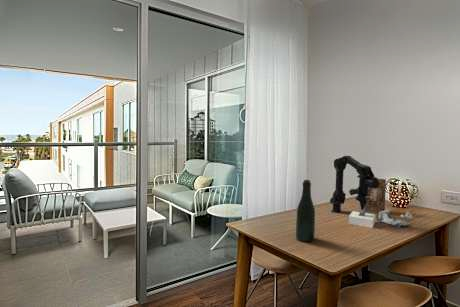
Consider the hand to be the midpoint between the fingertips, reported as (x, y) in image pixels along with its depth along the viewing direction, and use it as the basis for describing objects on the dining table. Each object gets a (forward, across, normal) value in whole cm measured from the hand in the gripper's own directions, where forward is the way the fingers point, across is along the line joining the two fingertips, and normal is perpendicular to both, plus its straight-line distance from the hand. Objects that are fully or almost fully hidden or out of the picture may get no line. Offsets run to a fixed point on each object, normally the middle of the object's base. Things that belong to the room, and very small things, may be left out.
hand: (362, 208), depth 184 cm
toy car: (+10, -10, +18) cm, 23 cm away
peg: (+4, 0, 0) cm, 4 cm away
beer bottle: (+9, +49, -22) cm, 55 cm away
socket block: (+9, 0, 0) cm, 9 cm away
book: (+10, -33, +2) cm, 34 cm away
